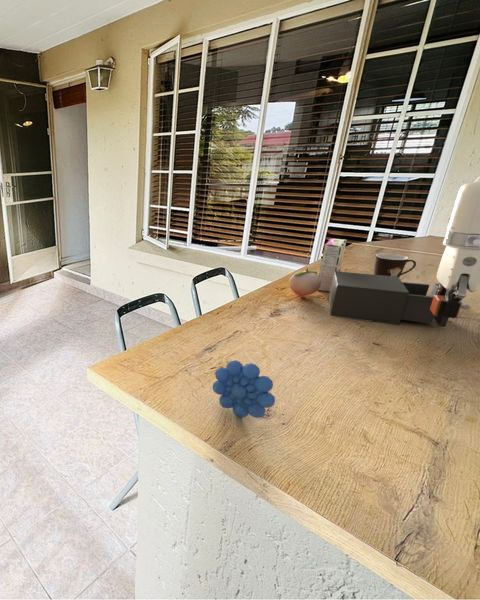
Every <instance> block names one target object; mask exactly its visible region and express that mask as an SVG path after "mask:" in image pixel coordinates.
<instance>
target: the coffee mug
mask: <svg viewBox="0 0 480 600" xmlns="http://www.w3.org/2000/svg"><path fill="white" fill-rule="evenodd" d="M409 262H412V263H413V265H412V266H411V267H410V268H409V269H408V270H406V271H404V268H405V267H406V265H407V263H409ZM416 266H417V262H416V261H415V260H413V259H409V257H408V256H406V255H401V254H397V253H377V254H375V259H374V269H373V275H383V276H394V277H399V278H400V277H401V276H403V275H405V274H407V273H409V272H411V271H412V270H414V269H415V268H416Z"/></svg>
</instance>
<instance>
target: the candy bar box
mask: <svg viewBox="0 0 480 600" xmlns="http://www.w3.org/2000/svg"><path fill="white" fill-rule="evenodd" d="M347 241H348V240H347V239H343V238H342V239H341V238H330V239H329V240H328V241H327V242H326V243H325V244H324V247H323V253H322V258H321V262H320V268H319V273H318V276H319V277H320V279H321V285H320V288H319V289H318V290H317V291H319V292H320V291H321V292H328V293H330V290H331V286H332V281H333V277H334V273H335V271H338V272H341V269H342V264H343V258H344V254H345V249H346V244H347Z"/></svg>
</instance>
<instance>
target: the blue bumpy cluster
mask: <svg viewBox="0 0 480 600" xmlns="http://www.w3.org/2000/svg"><path fill="white" fill-rule="evenodd" d="M260 374H261V370H260V367H259V366H258V365H257V364H255V363H252V362H251V363H246V364H245V365H243V364H242V362H240V361H239V360H235V359H234V360H230V361H228V362H227V364H226V365H225V367H218V368H217V369H216V370H215V372H214V376H215V379H216V380H215V381H214V382H213V384H212V391H213V392H214V393H215V394H216V395H219V399H218V401H219V405H220V406H221V407H222V408H224V409H232V413H233V415H235V417H237V418H241V419H242V418H243V419H244V418H247V417H248V416H251V418H252V417H253V418H255V419H258V418H262V417H264V416H265V413H266V409H267V408H269V409H270V408H272V407H274V405H275V402H276V398H275V395H273V394H272V393H271V392H270V391H271V390H272V389H273V386H274V382H273V380H272V379H271V378H270V377H269V376H267V375H260Z"/></svg>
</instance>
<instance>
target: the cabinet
mask: <svg viewBox="0 0 480 600" xmlns="http://www.w3.org/2000/svg"><path fill="white" fill-rule="evenodd" d="M402 282H403V281H402V280H401V278H400V277H394V276H383V275H374V274H370V273H359V272H350V271H349V272H346V271H340V272H338V271H335V273H334V277H333V281H332V286H331V290H330V292H329V294H328V306H329V307H328V308H329V314H330V316H331V317H339V318H347V319H352V320H353V319H354V320H361V321H366V322H367V321H368V322H373V323H374V322H375V323H381V324H388V325H395V326H400V323H401V317H402V314H403V311H404V307H405V304H406V301H407V298H408V295H409V292H408V290H407V289H406V287H405V286H404V284H403V283H402Z"/></svg>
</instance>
